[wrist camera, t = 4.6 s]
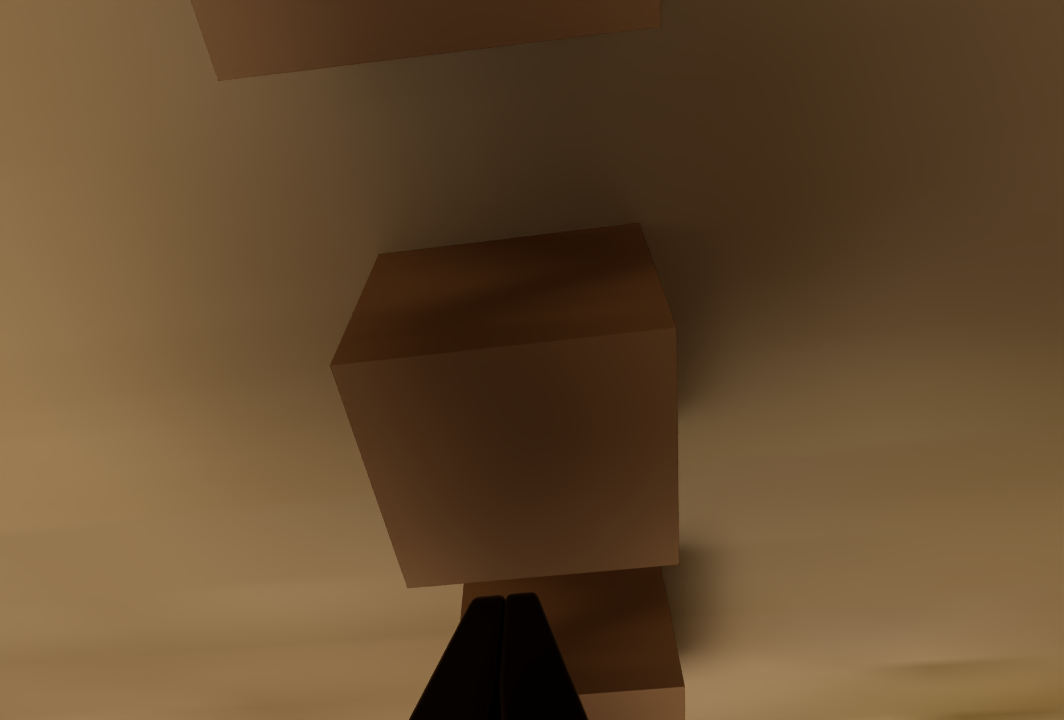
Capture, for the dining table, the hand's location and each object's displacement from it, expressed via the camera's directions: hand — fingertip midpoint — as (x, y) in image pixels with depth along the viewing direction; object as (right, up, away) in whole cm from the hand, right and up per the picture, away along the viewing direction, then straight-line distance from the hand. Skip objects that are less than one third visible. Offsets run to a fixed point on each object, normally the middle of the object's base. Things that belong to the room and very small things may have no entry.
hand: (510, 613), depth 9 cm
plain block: (0, +4, +6) cm, 7 cm away
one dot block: (+1, -4, +10) cm, 11 cm away
